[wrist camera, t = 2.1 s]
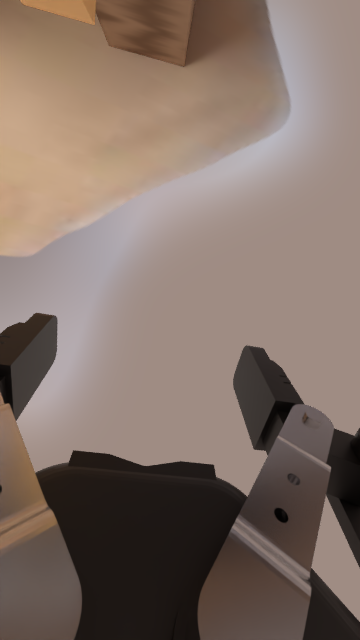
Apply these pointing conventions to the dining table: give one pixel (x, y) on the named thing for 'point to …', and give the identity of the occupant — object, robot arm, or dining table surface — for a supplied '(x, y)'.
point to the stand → (148, 27)
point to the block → (67, 8)
